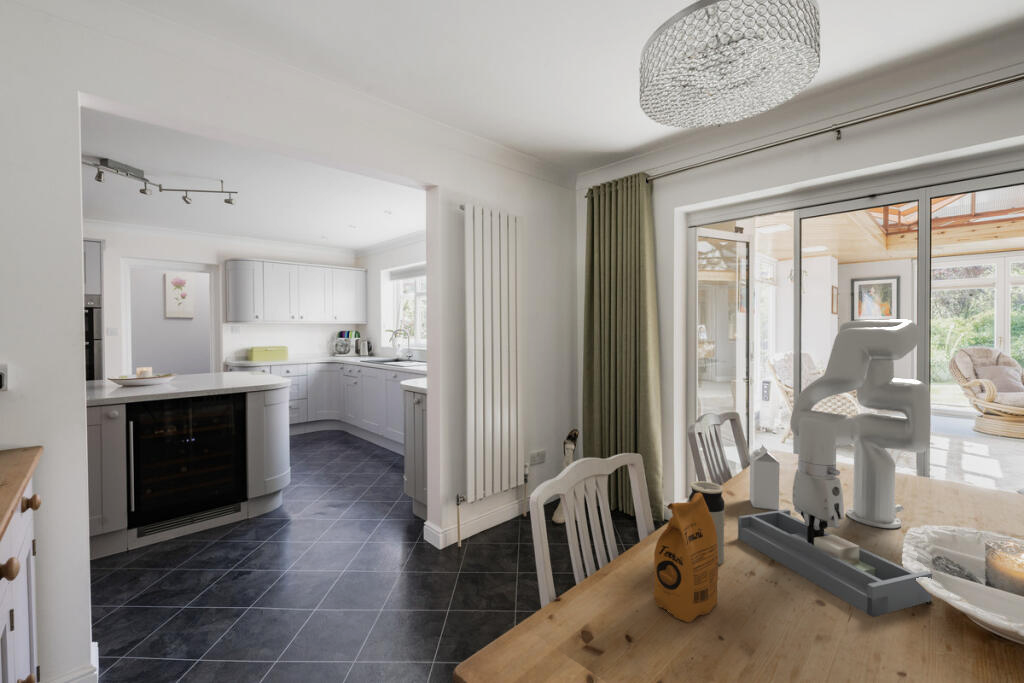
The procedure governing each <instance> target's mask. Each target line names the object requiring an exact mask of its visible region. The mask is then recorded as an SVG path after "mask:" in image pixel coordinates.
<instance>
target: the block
mask: <svg viewBox="0 0 1024 683" xmlns="http://www.w3.org/2000/svg"><path fill="white" fill-rule="evenodd" d="M814 546H815V547H817V548H819V549H821V550H823V551H825V552H827V553H829V554H831V555H833V556H835V557H837V558H839V559H841V560H843V561H845V562H847V563H849V564H851V565H855V564H859V547H860V545H858V544H855V543H854V542H851V541H849V540H846V539H845V538H842V537H841V536H837V535H836V534H831V535H827V536H821V537H815V538H814Z"/></svg>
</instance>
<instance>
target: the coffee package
mask: <svg viewBox="0 0 1024 683" xmlns="http://www.w3.org/2000/svg"><path fill="white" fill-rule="evenodd" d="M666 507H667V509H668V510H671V514H672V516H671V517H670V518H669V521H668V522H667V525H666V526H667V527H666V529H665V530H663V531H662V533H661V535H660V536H659V538H658V539H657V542H656V544H655V549H654V553H653V554H654V556H653V557H654V579H653V580H654V581H653V582H654V583H653V599H654V601H655V604H656V605H657V604H658V605H659V606H661V607H660V608H662V607H663V608H662V609H664V610H665V609H666V610H667V611H669V612H670V613H669V614H671V615H672V616H673V618H675V619H677V618H678V619H677V620H680V621H681V620H683V621H682V622H684V621H685V622H684V623H686V622H689V623H692V622H693V621H694V620H695V619H696V618H697V617H698V616H704V615H705V614H706V615H709V613H711V611H712V610H713V609H714V608H715V606H717V605H718V579H719V578H718V577H719V565H718V543H717V534H716V527H715V524H714V521H713V519H712V516H711V514H710V512H709V510H708V507H707V505H706V502H705V500H704V498H703V495H702V494H701V493H696V494H694V496H693V497H692V499H691V501H690V502H689V501H688V502H674V503H673V502H670V503H669V504H668V505H667V506H666ZM658 605H657V606H658ZM659 606H658V607H659ZM666 610H665V611H666ZM667 611H666V612H667Z"/></svg>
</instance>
